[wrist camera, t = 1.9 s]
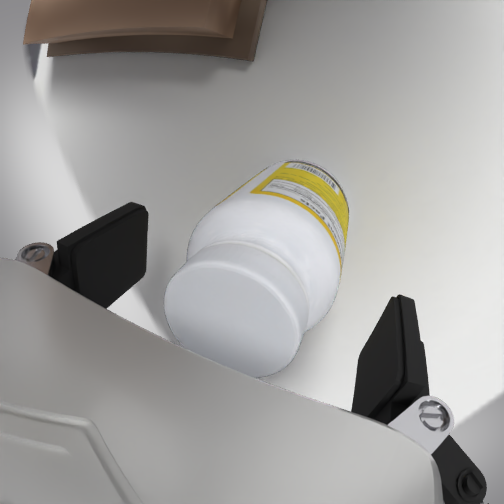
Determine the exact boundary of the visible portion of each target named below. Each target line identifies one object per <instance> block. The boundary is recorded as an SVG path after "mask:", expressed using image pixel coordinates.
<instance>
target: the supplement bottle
mask: <svg viewBox="0 0 504 504" xmlns="http://www.w3.org/2000/svg"><path fill="white" fill-rule="evenodd" d="M348 221H349V208H348V202H347V198H346V196H345V193H344V191H343V189H342V187H341V185H340V184H339V182H338V181H337V180H336V179H335V178H334V176H333V175H332V174H330V173H329V172H328V171H327V170H325V169H324V168H322V167H320V166H318V165H316V164H314V163H311V162H307V161H303V160H287V161H282V162H279V163H276V164H273V165H271V166H269V167H268V168H266V169H264V170H263V171H261V172H260V173H259V174H257V175H256V176H255V177H253V178H252V179H251V180H249V181H248V182H247V183H245V184H244V185H243V186H241V187H240V188H239V189H237V190H236V191H235V192H233V193H232V194H231V195H229V196H228V197H227V198H226V199H224V200H223V201H222V202H220V203H219V204H218V205H216V206H215V207H214V208H213V209H211V210H210V211H209V212H208V213H207V214H206V215H205V216H204V217H203V218H202V219H201V220H200V222H199V223H198V225H197V226H196V228H195V229H194V231H193V233H192V235H191V238H190V241H189V245H188V249H187V262H186V263H185V264H184V265H183V266H182V267H181V268H180V269H179V270H178V271H177V272H176V274H175V275H174V276H173V277H172V278H171V280H170V282H169V283H168V285H167V287H166V291H165V295H164V311H165V316H166V319H167V322H168V324H169V327H170V329H171V331H172V333H173V334H174V336H175V337H176V339H177V340H178V341H179V343H180V344H181V345H182V346H183V347H184V348H185V349H188V350H190V351H192V352H194V353H196V354H199V355H201V356H203V357H205V358H208V359H210V360H212V361H215V362H217V363H219V364H222V365H224V366H227V367H229V368H231V369H234V370H236V371H239V372H241V373H244V374H246V375H249V376H251V377H254V378H259V377H265V376H269V375H272V374H275V373H277V372H279V371H281V370H282V369H284V368H285V367H286V366H287V365H288V364H289V363H290V362H291V361H292V360H293V358H294V357H295V355H296V354H297V352H298V349H299V346H300V343H301V341H302V338H303V335H304V333H305V332H306V331H308V330H309V329H311V328H312V327H314V326H315V325H316V324H318V323H319V322H320V321H321V320H322V319H323V318H324V316H325V315H326V314H327V313H328V311H329V309H330V308H331V306H332V304H333V302H334V300H335V297H336V294H337V291H338V287H339V283H340V278H341V272H342V265H343V258H344V252H345V245H346V238H347V230H348Z"/></svg>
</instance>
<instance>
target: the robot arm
mask: <svg viewBox="0 0 504 504" xmlns="http://www.w3.org/2000/svg"><path fill="white" fill-rule="evenodd" d="M147 232H148V212H147V211H146V208H145V207H144V206H142V205H139V204H137V203H134V202H130V203H128V204H126V205H124V206H122V207H120V208H118V209H116V210H114V211H112V212H110V213H108V214H106V215H104V216H102V217H100V218H98V219H96V220H95V221H93V222H91V223H89V224H87V225H85V226H83V227H82V228H80V229H78V230H76V231H74V232H73V233H71V234H69V235H67V236H65V237H64V238H62V239H60V240H58V241H57V248H58V250H57V251H55V252H54V249H53V247H52V246H51V245H49V244H47V243H32V244H29V245H27V246H25V247H23V248H22V249H21V250H20V251H19V253H18V254H17V257H16V259H15V260H13V259H7V258H0V504H484V502H483V499H484V497H485V495H486V489H487V487H486V481H485V478H484V476H483V474H482V473H481V471H480V470H479V469H478V468H477V467H476V465H475V464H474V463H473V462H472V461H471V459H470V458H469V457H468V456H467V455H466V454H465V453H464V451H463V450H462V449H461V448H460V447H459V445H458V444H457V443H456V442H455V441H454V439H453V438H452V437H451V436H450V435H449V434H450V432H451V431H452V429H453V427H454V417H453V414H452V412H451V410H450V408H449V407H448V406H447V404H446V403H444V402H443V401H442V400H441V399H439V398H436V397H433V396H430V395H429V384H428V374H427V365H426V357H425V349H424V344H423V342H422V341H421V340H420V333H419V327H418V320H417V314H416V308H415V302H414V300H413V299H411V298H408V297H405V296H402V295H400V294H399V295H398V296H397V297H391V299H390V300H389V302H388V304H387V306H386V308H385V310H384V312H383V314H382V316H381V317H380V319H379V321H378V323H377V325H376V326H375V328H374V330H373V332H372V334H371V335H370V337H369V339H368V341H367V342H366V344H365V346H364V347H363V349H362V351H361V353H360V355H359V359H358V366H357V374H356V382H355V390H354V397H353V404H352V410H351V412H350V411H347V410H344V409H341V408H338V407H335V406H333V405H330V404H327V403H323V402H320V401H317V400H314V399H311V398H308V397H305V396H303V395H300V394H297V393H294V392H291V391H288V390H286V389H283V388H280V387H277V386H275V385H272V384H269V383H267V382H264V381H261V380H259V379H256V378H254V377H251V376H249V375H246V374H244V373H241V372H239V371H236V370H234V369H231V368H229V367H227V366H224V365H222V364H219V363H217V362H215V361H212V360H210V359H208V358H205V357H203V356H201V355H199V354H196V353H194V352H192V351H190V350H188V349H185V348H183V347H181V346H179V345H177V344H175V343H172V342H170V341H168V340H166V339H164V338H162V337H160V336H158V335H156V334H154V333H152V332H150V331H148V330H146V329H144V328H142V327H140V326H138V325H135V324H134V323H132V322H130V321H128V320H126V319H124V318H122V317H120V316H118V315H116V314H114V313H113V312H111V311H109V310H107V308H108V307H109V306H110V305H111V304H112V303H113V302H115V301H116V300H117V299H118V298H119V297H120V296H122V295H123V294H124V293H125V292H126V291H127V290H129V289H130V288H131V287H132V286H133V285H134V284H136V283H137V282H138V281H139V280H140V279H142V278H143V276H144V275H145V272H146V258H147ZM488 504H489V503H488Z"/></svg>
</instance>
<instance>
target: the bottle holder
mask: <svg viewBox="0 0 504 504" xmlns="http://www.w3.org/2000/svg"><path fill="white" fill-rule="evenodd" d="M266 3H267V0H31V4H30V9H29V13H28V18H27V24H26V29H25V35H24V42H23V44H42V43H49V44H48V51H47V57H54V56H63V55H74V54H87V53H105V52H164V53H183V54H196V55H207V56H216V57H225V58H233V59H240V60H247V61H254V57H255V52H256V47H257V43H258V38H259V34H260V29H261V25H262V20H263V16H264V12H265V7H266Z"/></svg>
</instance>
